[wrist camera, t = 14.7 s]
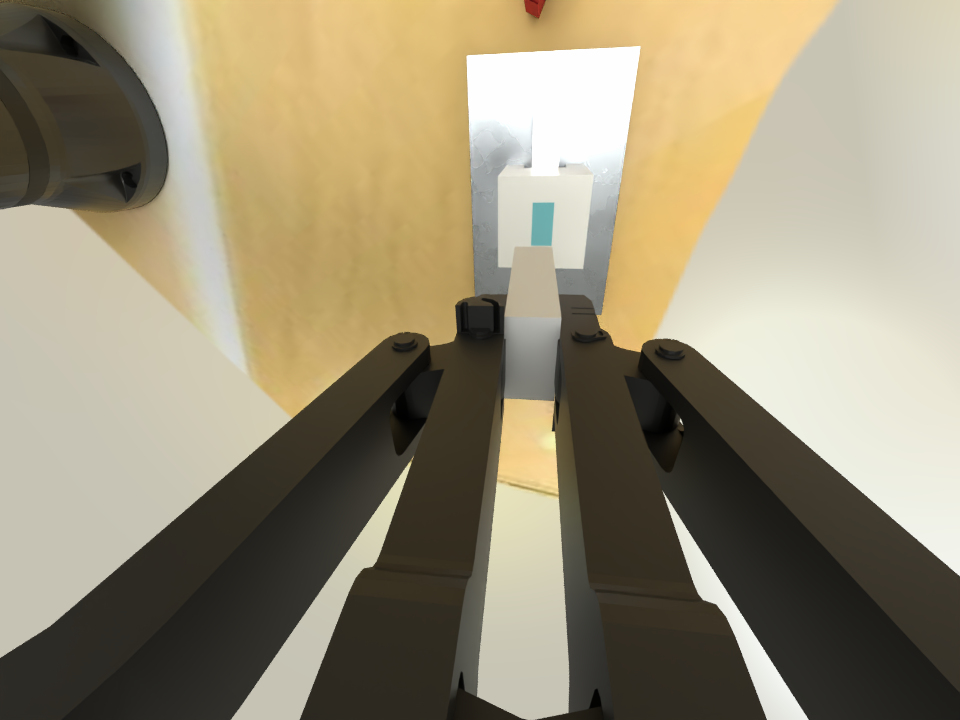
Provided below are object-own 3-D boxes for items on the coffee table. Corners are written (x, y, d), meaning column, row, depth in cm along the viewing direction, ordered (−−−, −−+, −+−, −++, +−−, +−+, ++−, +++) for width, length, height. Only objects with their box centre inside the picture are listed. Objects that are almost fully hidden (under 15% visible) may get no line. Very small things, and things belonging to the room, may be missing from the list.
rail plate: (477, 306, 40) (472, 319, 37) (468, 57, 29) (461, 51, 27) (599, 310, 38) (604, 324, 35) (637, 48, 28) (646, 41, 25)
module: (506, 240, 35) (498, 267, 28) (507, 164, 32) (497, 176, 25) (575, 240, 34) (583, 269, 28) (583, 163, 31) (593, 175, 24)
